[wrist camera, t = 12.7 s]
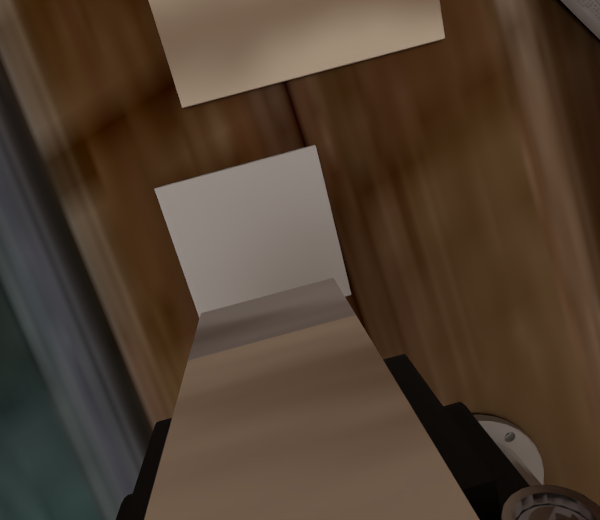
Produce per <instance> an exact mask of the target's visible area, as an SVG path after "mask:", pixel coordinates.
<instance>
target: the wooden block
mask: <svg viewBox="0 0 600 520" xmlns="http://www.w3.org/2000/svg"><path fill="white" fill-rule="evenodd" d="M144 520H479V518H478V516H477V515H476V513H475V511H474V510H473V508H472V506H471V505H470V503H469V501H468V500H467V498H466V496H465V495H464V493H463V491H462V490H461V488H460V487H459V485H458V483H457V482H456V480H455V478H454V477H453V475H452V473H451V472H450V470H449V468H448V467H447V465H446V463H445V462H444V460H443V458H442V457H441V455H440V453H439V452H438V450H437V448H436V447H435V445H434V443H433V442H432V440H431V439H430V437H429V435H428V434H427V432H426V430H425V429H424V427H423V425H422V424H421V422H420V420H419V419H418V417H417V415H416V414H415V412H414V410H413V409H412V407H411V405H410V404H409V402H408V400H407V399H406V397H405V395H404V394H403V392H402V391H401V389H400V387H399V386H398V384H397V382H396V381H395V379H394V377H393V376H392V374H391V372H390V371H389V369H388V367H387V366H386V364H385V362H384V361H383V359H382V357H381V356H380V354H379V352H378V351H377V349H376V347H375V346H374V344H373V343H372V341H371V339H370V338H369V336H368V334H367V333H366V331H365V329H364V328H363V326H362V324H361V323H360V321H359V319H358V318H357V316H356V314H355V313H354V311H353V309H352V308H351V306H350V304H349V303H348V301H347V299H346V298H345V296H344V295H343V293H342V291H341V290H340V288H339V286H338V285H337V283H336V281H335V280H334V278H331V279H327V280H323V281H319V282H316V283H312V284H308V285H305V286H301V287H297V288H293V289H290V290H286V291H282V292H278V293H275V294H271V295H267V296H263V297H260V298H256V299H252V300H248V301H245V302H241V303H237V304H233V305H230V306H226V307H222V308H218V309H215V310H211V311H207V312H204V313H201V315H200V319H199V322H198V326H197V330H196V333H195V337H194V340H193V344H192V348H191V351H190V355H189V359H188V362H187V366H186V369H185V373H184V377H183V380H182V384H181V388H180V391H179V395H178V399H177V402H176V406H175V409H174V413H173V417H172V420H171V424H170V428H169V431H168V435H167V438H166V442H165V446H164V449H163V453H162V457H161V460H160V464H159V467H158V471H157V475H156V478H155V482H154V486H153V489H152V493H151V497H150V500H149V504H148V507H147V511H146V515H145V518H144Z"/></svg>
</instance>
